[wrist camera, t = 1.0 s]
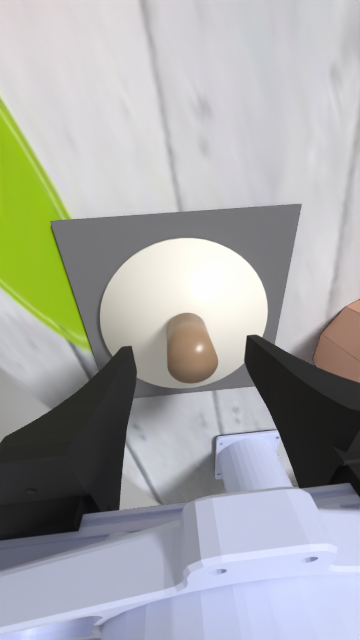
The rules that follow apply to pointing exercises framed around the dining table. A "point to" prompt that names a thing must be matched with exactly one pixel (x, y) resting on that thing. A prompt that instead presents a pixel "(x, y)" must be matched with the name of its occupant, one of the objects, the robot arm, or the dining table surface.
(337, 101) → the dining table surface
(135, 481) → the dining table surface
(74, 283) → the mat
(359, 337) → the bowl
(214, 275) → the lid
